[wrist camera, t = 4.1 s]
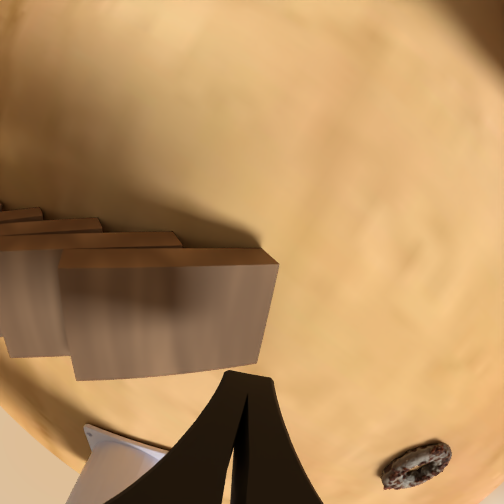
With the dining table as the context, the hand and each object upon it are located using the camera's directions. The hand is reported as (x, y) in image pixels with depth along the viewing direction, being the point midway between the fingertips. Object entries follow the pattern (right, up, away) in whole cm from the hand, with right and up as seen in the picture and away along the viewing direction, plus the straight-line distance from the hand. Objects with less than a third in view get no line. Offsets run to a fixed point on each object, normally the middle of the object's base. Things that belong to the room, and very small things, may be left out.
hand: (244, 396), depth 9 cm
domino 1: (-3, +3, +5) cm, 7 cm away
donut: (+13, -13, +11) cm, 21 cm away
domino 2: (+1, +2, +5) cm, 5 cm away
